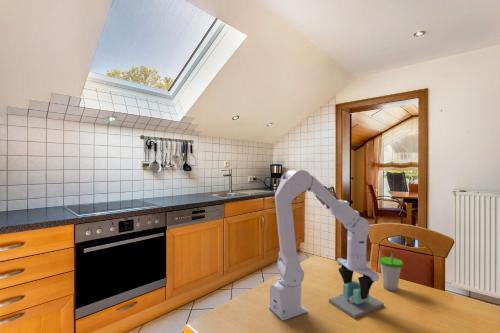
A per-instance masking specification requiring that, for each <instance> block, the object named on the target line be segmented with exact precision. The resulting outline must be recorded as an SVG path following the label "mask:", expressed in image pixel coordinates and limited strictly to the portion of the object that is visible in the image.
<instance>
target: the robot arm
mask: <svg viewBox="0 0 500 333" xmlns="http://www.w3.org/2000/svg"><path fill="white" fill-rule="evenodd" d="M278 184H279V185H278V186H277V188H276V191H275V193H274V205H275V206H274V207H275V214H276V224H277V234H278V242H279V243H278V244H279V251H278V253H277V254H278V258H277V262H276V268H277V270H278V272H279V276H278V279H277V281H276V282H275V283H273V284H271V285H270V288H269V305H268V308H269V310H271V311H272V313H274V314H275V315H276V317H278V318H279V319H280V320H281V321H286V320H289V319H292V318H294V317H296V316H300V315H302V314H305V313H307V312H308V310H307V309H306V307H304V306H303V305H302V282H304V278H305V272H304V270H303V268H302V266H301V261H300V258H299V256H298V251H297V243H296V236H295V233H296V232H295V224H294V215H293V205H292V203H293V200H294V199H295V198H297V197H298V195H300V194H301V193H304V192H305V191H308V192H311V193H313V194H314V195H316V197H317V198H319V199H320V200H321V201H322V202H323V203H325V204H326V205H327V206H328V207H329V212H330V214H332V215H333V217H335V218H336V219H337V220H338V221H339V222H340V223H342V224H343V227H344V229H347V236H346V237H347V239H346V240H347V246H346V247H347V250H346V259H344V258H342V257H340V258H337V259H336V265H337V266H340V267H339V268H338V272H339V273H340V275H341V279H342V280H343V284H346V283H349V282H352V281H353V276H354V273H357V274H360V275H362V276H359V277H357V279H358V282H359V283H360V289H361V299H366V298H367V296H368V293H369V294H370V290H371V287H372V285H373V283H374V282H377V281H380V274H379V273H377V272H375V271H373V270H372V269H371V268H370V267H368V265H367V240H368V235H369V233H370V232H371V229H372V226H370V222H369V221H368V220H367V219H366V218H364V217H362V216H360V212H359V211H357V210H354V208H353V207H351V206H350V202H349V201H348V200H344V199H337V198H336V197H335V196H334V195H333V193H331V192H330V191H329V190H328V189H327V188H326V187H325V186H324V185H323V184H322V183H321V182H320V181H319V180H318V179H317V178H316V177H315V176H314V175H311V173H310V172H309V171H307V170H304V169H295V168H294V169H292V168H291V169H289V170H288V171H286V172H285V173H284V174H283V175H282V176H281V177H280V182H279V183H278Z"/></svg>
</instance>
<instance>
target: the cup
mask: <svg viewBox="0 0 500 333" xmlns="http://www.w3.org/2000/svg"><path fill="white" fill-rule="evenodd" d="M378 258H379V259H378V263H379V264H380V272H381V273H380V274H381V279H382V280H381V282H382V287H383V289H384V290H387V291H389V292H397V291H398V289H399V288H398V286H399V281H400V275H401V270H402V267H403V264H404V261H402V260H400V259H397V258H396V257H394V251H391V254H390V256H382V257H378Z"/></svg>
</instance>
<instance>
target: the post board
mask: <svg viewBox="0 0 500 333" xmlns="http://www.w3.org/2000/svg"><path fill="white" fill-rule="evenodd" d="M328 303H329V304H331V305H333V306H334V307H336V308H337V309H338V310H340V311H342V312H343V313H345V314H346V315H347V316H349V317H351V318H353V319H354V320H356V319H357V318H360V317H361V316H364V315H366V314H368V313H371V312H374V311H376V310H378V309H381V308H383V307H384V306H385V303H384V302H383V301H381V300H379V299H377V298H375V297H373V296H371V295H369V300H368V301H365V302H363V303H360V304H358V305H357V304H356V303H354V302H353V296H351V297H350V298H348V299H347V298H345V297H344V296H343V294H340V295H337V296H333V297H331V298H328Z"/></svg>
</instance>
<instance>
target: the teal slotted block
mask: <svg viewBox="0 0 500 333" xmlns="http://www.w3.org/2000/svg"><path fill="white" fill-rule="evenodd" d="M342 292H343V293H342V295H343V296H344V297H345V298H347V299H348V298H350V297H351V296H353V302H354V303H356V304H357V305H358V304H360V303H363V302H365V301H368V300H369V296H370V292H369V293H368V296H367V298H366V299H361V289H360V283H359V281H357V280H352V282H349V283H346V284H344V283H343V286H342Z"/></svg>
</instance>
